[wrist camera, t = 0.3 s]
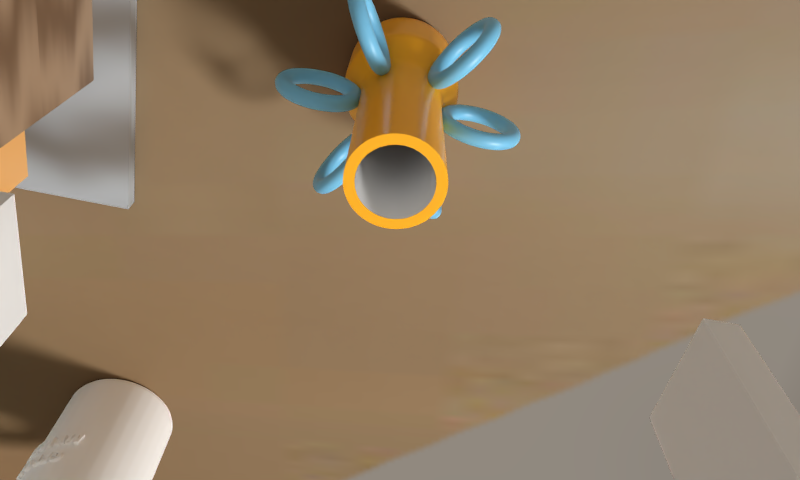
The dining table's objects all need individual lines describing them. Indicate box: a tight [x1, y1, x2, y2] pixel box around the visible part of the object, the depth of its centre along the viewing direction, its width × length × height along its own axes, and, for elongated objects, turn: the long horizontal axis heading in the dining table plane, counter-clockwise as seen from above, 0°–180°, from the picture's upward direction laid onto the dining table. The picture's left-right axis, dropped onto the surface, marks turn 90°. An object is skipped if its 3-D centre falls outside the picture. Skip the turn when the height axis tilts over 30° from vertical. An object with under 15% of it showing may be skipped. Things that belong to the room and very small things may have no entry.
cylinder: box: [275, 0, 520, 229], centre depth 32 cm, size 12×10×15 cm
